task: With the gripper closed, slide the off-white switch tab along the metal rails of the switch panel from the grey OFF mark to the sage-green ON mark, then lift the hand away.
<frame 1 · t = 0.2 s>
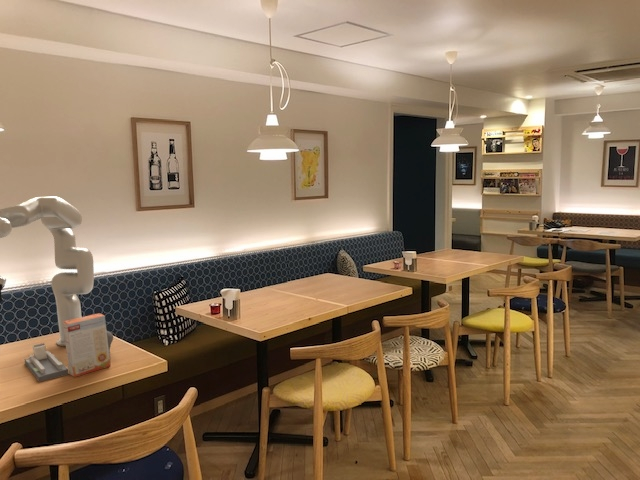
cracker box: (89, 370, 203), on the table
switch panel: (46, 368, 206), on the table
switch tab: (39, 351, 211), point 5 cm above the table, slide at 0.0 cm
light bulb: (107, 354, 220), on the table
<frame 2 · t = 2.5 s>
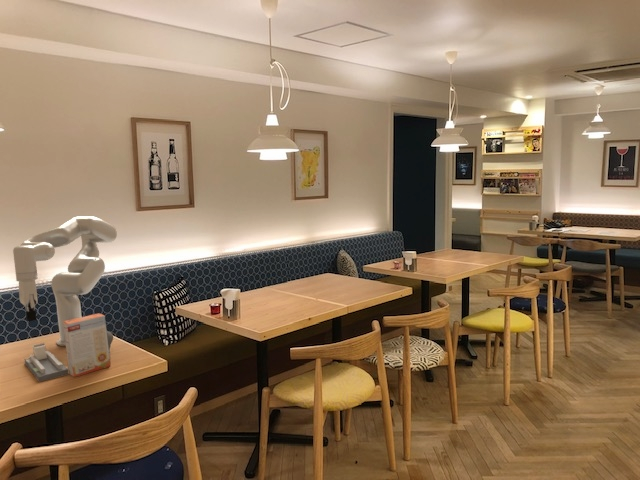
hand: (31, 320, 214), 17 cm above the table, tool pointing down, fingers closed
nothing on the table moved.
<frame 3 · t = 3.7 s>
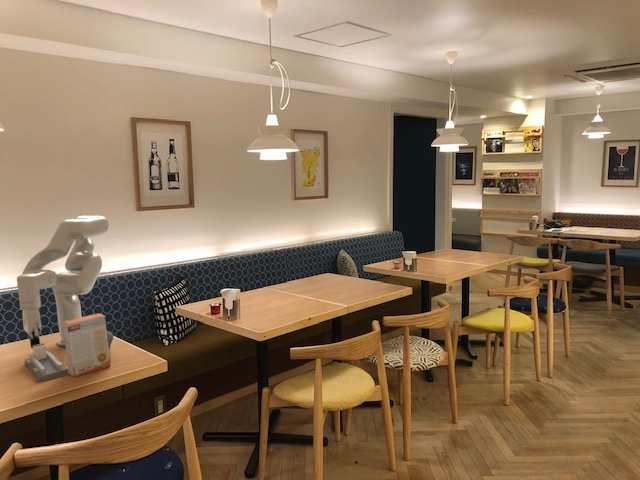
hand: (35, 347, 217), 5 cm above the table, tool pointing down, fingers closed
nothing on the table moved.
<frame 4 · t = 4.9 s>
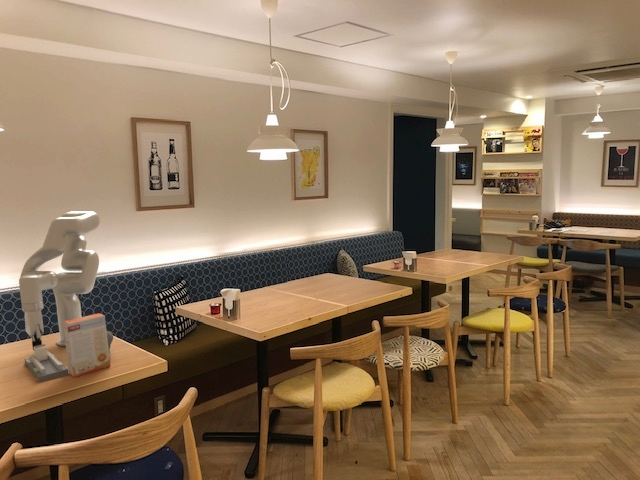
hand: (37, 349, 213), 5 cm above the table, tool pointing down, fingers closed
switch tab: (40, 352, 210), point 5 cm above the table, slide at 1.4 cm, touching gripper
everything else where it was.
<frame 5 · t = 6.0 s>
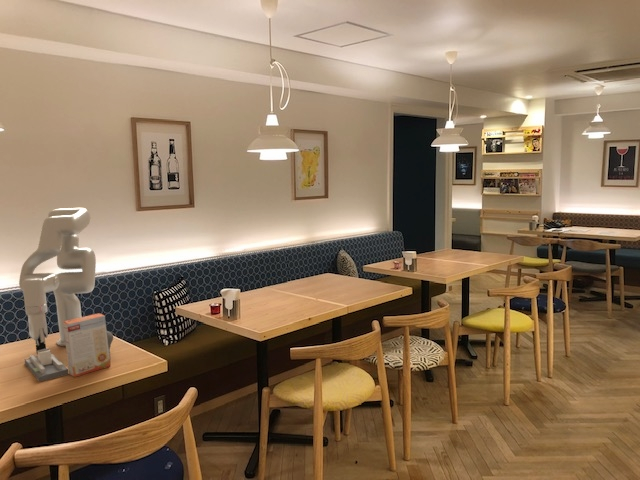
hand: (41, 353, 208), 5 cm above the table, tool pointing down, fingers closed
switch tab: (44, 356, 205), point 5 cm above the table, slide at 7.8 cm, touching gripper
everything else where it was.
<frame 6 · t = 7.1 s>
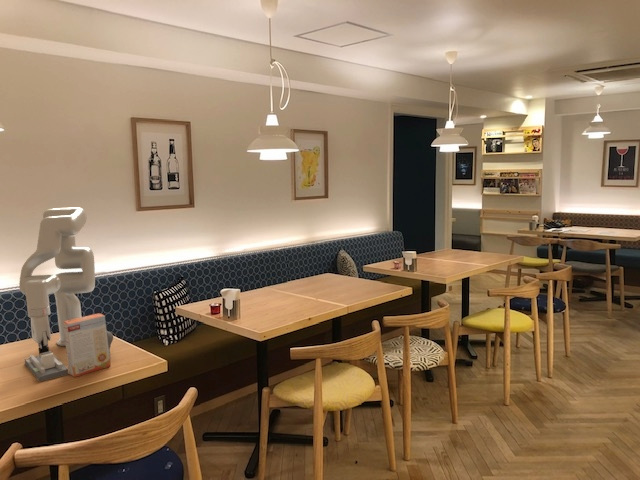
hand: (44, 356, 205), 5 cm above the table, tool pointing down, fingers closed
switch tab: (47, 359, 202), point 5 cm above the table, slide at 12.3 cm, touching gripper
everything else where it was.
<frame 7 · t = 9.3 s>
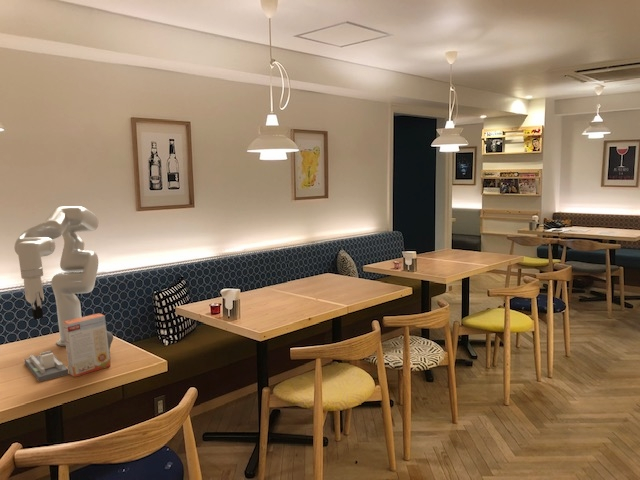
hand: (38, 318, 208), 19 cm above the table, tool pointing down, fingers closed
switch tab: (47, 359, 202), point 5 cm above the table, slide at 12.0 cm
everything else where it was.
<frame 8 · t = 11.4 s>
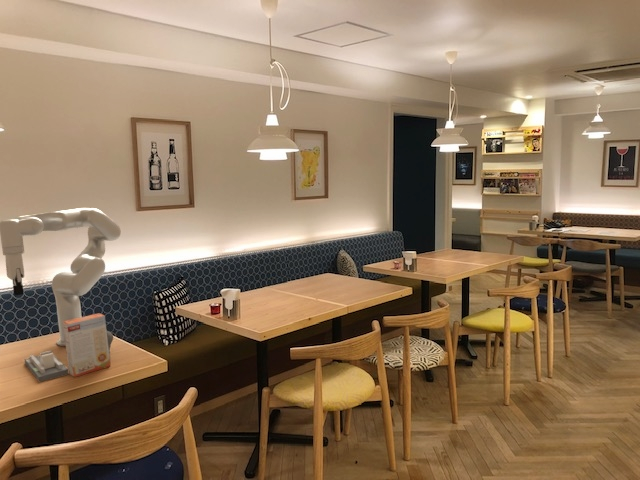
hand: (18, 294, 214), 27 cm above the table, tool pointing down, fingers closed
nothing on the table moved.
at the end: switch tab slide at 12.0 cm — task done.
